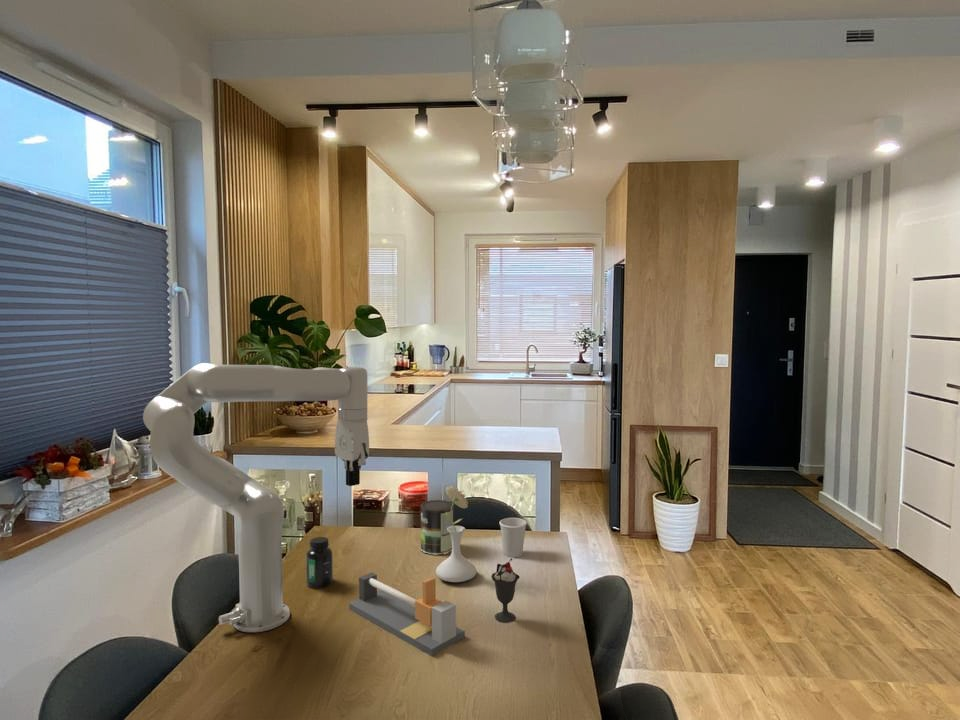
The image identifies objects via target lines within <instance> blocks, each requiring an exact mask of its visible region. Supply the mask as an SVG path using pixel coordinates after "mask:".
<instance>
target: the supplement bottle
mask: <svg viewBox="0 0 960 720" xmlns="http://www.w3.org/2000/svg"><path fill="white" fill-rule="evenodd" d="M329 545H330V543H329V538H328V537H326V536H325V537H324V536H316V537H313V538H311V539H310V540H309V549H308V550H307V551H306V555H305V558H306V559H305V561H306V564H305V565H306V569H305V570H306V584H307V586H308V588H312V589H322V588H326V587H329V586H330V585H331V584H332V583H333V579H334V575H333V574H334V573H333V570H334V568H333V567H334V566H333V565H334V564H333V558H334V557H333V550H332V549H331V547H329Z"/></svg>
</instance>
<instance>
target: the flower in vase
mask: <svg viewBox="0 0 960 720" xmlns="http://www.w3.org/2000/svg"><path fill="white" fill-rule="evenodd" d="M445 492H446V495H447V496H448V498H449V500H450V502H451V503H453V504H452V507H451V511H450V515H449V514H448V513H447V512H446V513H445V516H446V517H448V518H449V519H450V520H452V523H453V526H450V527H448V528H447V530H448V532H449V533H450V535H451V539H452V551H451V552H450V555H449V557H447V558H446V559H444V560H443V561H442V562H440V564H438V565H437V567H436V569H435V575H436V576H437V577H438V578H439V579H440V580H442V581H445V582H449V583H462V582H466V581H469V580H472V579H473V578H474V577H475V576H476V575H477V573H478V572H477V571H478V570H477V567H476V566H475V565H474V564H473V563H472V562H471V561H470V560H469V559H468V558H465V557H464V555H462V553H461V540H462V536H463V533H464V532H465V531H466V528H465V527H464V526H462V525H455V524H457V523H459V522H460V521H462V520H463V519H464V517H462V518H458V519H457V520H456V521H454V518H453V519H452V516H451V512H452V508H453V509H454V505H456V506H457V507H459V508H461V509H466V508H469V507H468V504H469V501H468V499H467V498H466V495H465V494H464V493H462V492H461V491H459V488H458V487H454V486H453V485H449V486H447V487H446V488H445Z"/></svg>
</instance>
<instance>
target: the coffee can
mask: <svg viewBox="0 0 960 720" xmlns="http://www.w3.org/2000/svg"><path fill="white" fill-rule="evenodd" d="M452 504H453V502H452V501H447V500H443V499H436V500H435V499H433V500H427V501H424V502H422V503H421V504H420V505H419V506H420V551H421V552H422V551H423V552H425V553H428V554H444V553H447V552H450V551H451V550H452V539H451V535H450V533H449V532H448V530H447V528H448V527H450V526H453V523H452V520H450V519H449V518H448V517H446V516H445V513H446V512H447V513H448V514H449V515H450V511H451V507H452ZM451 516H452V519H453V520H454V507H453V508H452V512H451ZM423 552H422V553H423ZM451 552H452V551H451ZM451 552H450V553H451ZM425 553H424V554H425ZM428 554H427V555H428ZM447 554H448V553H447ZM444 555H445V554H444Z"/></svg>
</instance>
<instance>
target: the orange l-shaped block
mask: <svg viewBox="0 0 960 720" xmlns="http://www.w3.org/2000/svg"><path fill="white" fill-rule="evenodd" d="M436 579H437V578H436V577H434V576H432V577H429V578H427V579H424V580H423V581H422V597H421V598H418V599H416V601H415V618H416V619H418V620H419V621H421V622H423V623H425V624H427V625H429V626H431V625H432V607H434V606H436V605H438V604H440V603H442V602H443V601H442V600H440V599H437V597H436V594H437V593H436V592H437V589H436Z"/></svg>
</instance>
